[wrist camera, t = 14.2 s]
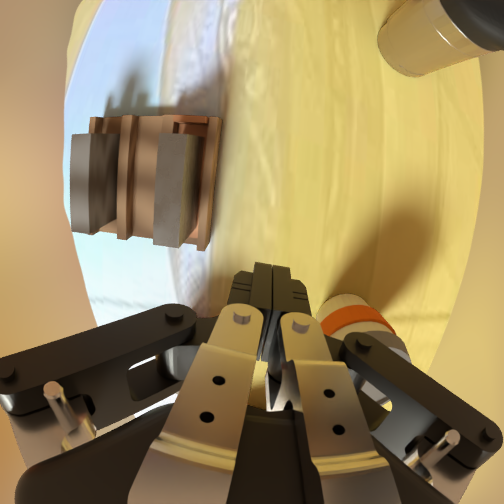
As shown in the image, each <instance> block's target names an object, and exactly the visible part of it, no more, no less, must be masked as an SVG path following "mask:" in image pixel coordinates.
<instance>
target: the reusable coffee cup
mask: <svg viewBox="0 0 504 504" xmlns="http://www.w3.org/2000/svg"><path fill="white" fill-rule="evenodd" d="M316 320H317V321H318V322H319V323H320V325H321V328H322V331H323V333H324V334H326V335H328V336H330V337H333V338H336V339H339V340H342V341H343V340H344V337H345V336H346V335H347V334H348V333H351V332H362V333H366V334H369V335H371V336H372V337H374V338H375V339H377V340H378V341H380V342H381V343H383V344H384V345H385V346H387V347H388V348H390V349H391V350H392V351H394V352H395V353H397V354H398V355H400V356H401V357H402V358H404V359H405V360H407V361H408V362H409V363H411V360H410V357H409V354H408V352H407V349H406V347H405V344H404V342H403V341H402V340H401V338H399V337H398V336H396V333H395V331H394V329H393V328H392V327H391V326H390V325H389V323H388V322H387V321H386V320H385V319H384V318H383V317H382V316H381V314H380V313H379V312H378V311H376V310H375V309H374V308H371V307H370V306H369V305H368V304H367V303H366V302H365V301H364V300H363V299H362V298H361V297H359V296H357V295H354V294H340V295H337V296H334V297H332V298H331V299H329V300H328V301H326V302H325V303H324V304H323V305H322V306H321V308H320V309H319V311H318V313H317V316H316ZM411 364H412V363H411ZM361 390H362V391H363V392H364V393H366V394H367V395H368V396H369V397H371V398H372V399H373V400H374V401H376V402H377V403H378V404H379V405H381V406H382V405H384V404H386V403H387V402H389V401H390V399H389V398H388V397H387V396H386V395H384V394H383V393H382V392H380V391H379V390H378V389H377V388H375V387H374V386H373V385H371V384H370V383H369V382H368V381H366V382H365V384H364V386H363V387H362V389H361Z"/></svg>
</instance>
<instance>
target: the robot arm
mask: <svg viewBox="0 0 504 504" xmlns="http://www.w3.org/2000/svg"><path fill="white" fill-rule="evenodd" d="M378 47H379V49H380V52H381V54H382V56H383V57H384V59H385V60H386V61H387V62H388V64H389V65H390V66H391V67H393V68H394V69H395V70H397V71H398V72H400V73H402V74H404V75H406V76H410V77H420V76H423V75H426V74H428V73H431V72H434V71H437V70H439V69H442V68H445V67H448V66H451V65H453V64H456V63H459V62H462V61H465V60H469V59H472V58H475V57H478V56H481V55H484V54H488V53H492V52H495V51H499V50H504V0H407V1H406V2H405V3H404V4H403V5H402V6H401V7H400V8H399V9H397V10H396V11H395V12H394V13H393V14H392V15H391V16H390V17H389V18H388V19H387V23H386V24H385V25H384V26H383V27H382V28H381V30H380V31H379V34H378ZM261 351H262V352H261ZM260 355H261V361H265V362H268V368H267V372H266V375H265V387H266V404H267V411H264V410H261V409H258V408H255V407H252V406H249V405H247V403H248V398H249V393H250V389H251V384H252V379H253V374H254V369H255V363H256V360H257V361H259V359H260ZM153 356H155V357H156V359H153V360H151V361H149V362H146V363H144V364H142V365H139V366H137V367H135V368H132V369H130V370H129V368H130V367H131V366H133V365H134V364H136V363H139V362H141V361H143V360H146V359H148V358H150V357H153ZM366 381H368V382H369V383H370V384H371V385H373V386H374V387H375V388H377V389H378V390H379V391H380V392H382V393H383V394H384V395H386V396H387V397H388V398H389V399H390V400H391V402H392V410H391V412H390V411H387V410H386V409H384V408H383V407H382V406H381V405H379V404H378V403H377V402H376V401H374V400H373V399H372V398H371V397H369V396H368V395H367V394H366V393H364V392H363V391H362V390H361V389H362V387H363V386H364V384H365V382H366ZM178 391H179V394H178V396H177V398H176V400H175V403H171V404H167V405H163V406H160V407H157V408H155V409H152V410H150V411H148V412H146V413H144V414H143V415H141V416H139V417H137V418H135V419H133V420H131V421H129V422H128V423H125V424H123V425H122V426H120V427H118V428H116V429H114V430H112V431H110V432H107V433H105V434H103V435H101V436H99V437H97V438H95V436H96V431H97V430H100V429H102V428H104V427H107V426H109V425H111V424H113V423H116V422H118V421H120V420H122V419H124V418H126V417H128V416H130V415H133V414H135V413H137V412H139V411H141V410H143V409H145V408H147V407H149V406H151V405H153V404H155V403H157V402H159V401H161V400H163V399H165V398H167V397H169V396H171V395H173V394H175V393H177V392H178ZM0 404H1V407H2V408H3V410H4V411H5V413H6V414H7V415H8V417H9V419H10V423H11V426H12V429H13V432H14V435H15V438H16V441H17V444H18V446H19V449H20V452H21V454H22V457H23V459H24V462H25V464H26V467H27V470H26V471H25V472H24V474H23V475H22V476H21V478H20V479H19V481H18V484H17V486H16V490H15V504H458V503H459V501H460V499H461V498H462V496H463V494H464V492H465V490H466V489H467V486H468V485H469V483H470V481H471V479H472V477H473V475H474V473H475V471H476V469H478V468H479V467H480V466H481V465H482V464H484V463H485V462H486V461H487V460H488V459H489V458H490V457H491V456H493V455H494V454H495V453H496V452H497V451H498V450H499V449H500V448H501V446H502V443H503V436H502V432H501V430H500V428H499V427H498V426H497V425H496V424H495V423H494V422H493V421H491V420H490V419H489V418H487V417H486V416H484V415H483V414H482V413H480V412H479V411H477V410H476V409H475V408H473V407H472V406H470V405H469V404H467V403H466V402H464V401H463V400H462V399H460V398H459V397H458V396H456V395H454V394H453V393H452V392H450V391H449V390H447V389H446V388H445V387H443V386H442V385H440V384H439V383H438V382H436V381H435V380H433V379H432V378H431V377H429V376H428V375H426V374H425V373H424V372H422V371H421V370H419V369H418V368H417V367H415V366H414V365H412V364H411V363H409V362H408V361H407V360H405V359H404V358H402V357H401V356H400V355H398V354H397V353H395V352H394V351H392V350H391V349H390V348H388V347H387V346H385V345H384V344H383V343H381V342H380V341H378V340H377V339H375V338H374V337H372V336H371V335H369V334H366V333H362V332H351V333H348V334H347V335H346V336H345V337H344V340H343V341H342V340H339V339H336V338H333V337H330V336H328V335H326V334H324V333H323V331H322V328H321V325H320V323H319V322H318V321H317V320H316V319H315V318H313V317H312V315H311V310H310V305H309V301H308V295H307V290H306V287H305V286H304V284H303V283H302V282H301V281H300V280H294V279H291V274H290V268H289V267H283V266H277V265H273V266H272V265H271V264H265V263H259V262H255V265H254V270H253V273H251V272H245V271H240V272H239V273H237V274H236V275H235V276H234V280H233V284H232V288H231V291H230V295H229V299H228V302H227V306H225V307H224V308H223V309H222V310H221V312H220V315H218V316H216V317H212V318H197V317H196V313H195V312H194V311H193V310H192V309H191V308H189V307H187V306H185V305H181V304H165V305H161V306H158V307H156V308H153V309H150V310H147V311H144V312H141V313H138V314H135V315H132V316H129V317H126V318H123V319H120V320H117V321H114V322H111V323H108V324H105V325H102V326H99V327H96V328H93V329H91V330H87V331H84V332H81V333H79V334H75V335H72V336H69V337H66V338H63V339H60V340H57V341H54V342H50V343H47V344H44V345H41V346H38V347H34V348H31V349H28V350H25V351H21V352H18V353H15V354H12V355H9V356H5V357H2V358H0Z"/></svg>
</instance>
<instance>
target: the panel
mask: <svg viewBox="0 0 504 504" xmlns="http://www.w3.org/2000/svg"><path fill="white" fill-rule="evenodd" d="M204 139H205V137H202V136H196V135H190V134H175V133H159V142H158V152H157V164H156V178H155V195H154V221H153V245H160V246H167V247H174V248H179V247H180V246H181V245H182V244H183V243H184V241H185V240H186V239H187V238H188V237H189V236H190V234H191V233H192V232H193V231H194V230H195V229H196V223H197V210H198V198H199V187H200V176H201V166H202V157H203V148H204Z"/></svg>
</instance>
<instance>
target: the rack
mask: <svg viewBox="0 0 504 504" xmlns="http://www.w3.org/2000/svg"><path fill="white" fill-rule="evenodd" d="M221 127H222V119H220V118H219V117H211V116H210V117H207V116H193V115H163V116H135V115H122V117H105V118H102V117H90V124H89V134H73V135H72V140H71V158H70V211H71V229H72V232H79V233H85V234H88V235H94V234H95V233H97V232H99V231H102V232H109V233H116V234H117V239H122V240H127V239H129V238H130V237H131V236H137V237H144V238H152V239H153V221H154V195H155V178H156V164H157V152H158V142H159V133H175V134H190V135H196V136H202V137H205V139H204V148H203V157H202V166H201V176H200V187H199V198H198V210H197V223H196V229H195V230H194V231H193V232H192V233H191V234H190V236H189V237H188V238H187V239H186V240H185V241H184V243H187V244H194V245H197V250H198V251H205V249H206V248H207V246H208V244H209V241H210V230H211V218H212V208H213V197H214V188H215V178H216V169H217V160H218V151H219V143H220V135H221Z"/></svg>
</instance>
